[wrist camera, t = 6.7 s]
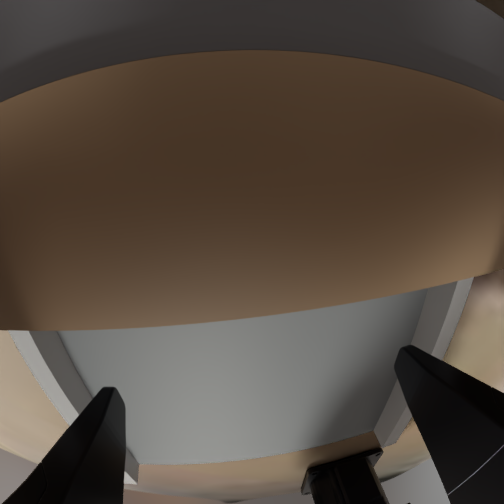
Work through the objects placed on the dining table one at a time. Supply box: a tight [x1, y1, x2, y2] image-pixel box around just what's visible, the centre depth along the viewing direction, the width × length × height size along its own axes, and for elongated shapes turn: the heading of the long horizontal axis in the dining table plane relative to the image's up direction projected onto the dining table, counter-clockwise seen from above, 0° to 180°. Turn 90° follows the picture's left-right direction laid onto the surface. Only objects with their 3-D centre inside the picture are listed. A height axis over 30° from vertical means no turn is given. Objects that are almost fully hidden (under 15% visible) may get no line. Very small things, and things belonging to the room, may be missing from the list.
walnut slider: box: [0, 50, 504, 331], centre depth 6 cm, size 4×14×4 cm, turn 92°
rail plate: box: [0, 0, 504, 484], centre depth 9 cm, size 21×18×4 cm
